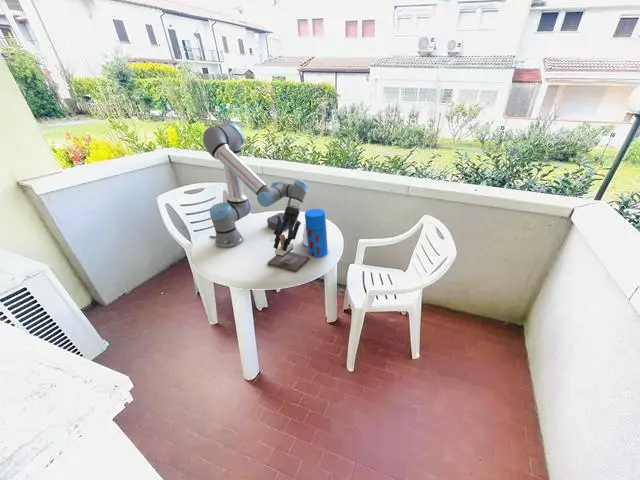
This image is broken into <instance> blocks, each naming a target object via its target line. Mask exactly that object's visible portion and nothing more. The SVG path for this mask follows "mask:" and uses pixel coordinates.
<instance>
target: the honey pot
mask: <svg viewBox="0 0 640 480" xmlns="http://www.w3.org/2000/svg"><path fill="white" fill-rule="evenodd" d="M303 226H304V228H303V232H302V242H303V245H304V246H306V247H308V240H307V231H306V222H305V223H304V225H303Z"/></svg>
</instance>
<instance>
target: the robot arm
mask: <svg viewBox="0 0 640 480" xmlns="http://www.w3.org/2000/svg"><path fill="white" fill-rule="evenodd" d="M245 139H246V138H245V134H244V132H243V131H242V129H241V128H240V126H239V125H237V124H235V123H232V122H231V123H230V122H229V123H222V124H217V125H213V126H209V127H207V128H205V130H204V132H203V135H202V142H203V145H204V147H205V149H206V151H207V153H208V154H209V155H210V156H211V157H212V158H213V159H215V160H216V161H220V163H222V164H223V168H224V175H225V180H226V185H227V187H226V188H227V193H228V195H226V201H225V202H224V201H223V202H219V203H215V204H213V205H212V206H211V207H210V208H209V216H210V218H211V221H212V224H213V228H214V231H215V236H213V235H209V238H213V239H215V244H216V247H218V248H223V249H224V248H225V249H226V248H232V247H235V246H238V245H240V244H241V243H242V242H243V236H242V235H241V233H240V232H239V230H238V229H237V226H236V222H237V221H240V220H242V219H244V217H246V216H248V215H249V214H250V213H251V212H252V208H253V205H252V202H251V201H250V199H249V198H248V196H247V195H246V194H245V193H244V185H245V186H246V187H247V188H248V189H249V190H251V192H252V193H254V194H255V196H256V200H257V202H258V204H259V205H260V206H261V207H265V208H268V207H270V206H273V205H274V204H275V203H277V202H279V201H280V200H281V199H283V198H288V200H287V202H286V206H285V209H284V211H283V213H284V216H283V217H278V221H277V224H276V227H275V229H273V235H274V236H275V237H274V240H273V241H274V244H273V249H274V250H276V249H277V248H279V245H280V237H279V235H282V234H284V231H285V230H286V229H285V227H287V225H288V226H289V228H287V236H286V237H285V243H284V246H283V249H282V250H284V251H286V250H287V247H288V245H290V243H292V242H291V241H292V240H296V238H297V234H298V231H299V228H300V226H301V224H302V222H301V221H299V220H298V218H299V216H300V214H301V213H300V212H301V209H302V206H303V204H304V200H305V197H306V195H307V192H308V187H309V186H308V184H307V183H306V182H305V181H303V180H300V179H296V180H295V181H294V182H293V183H288V182H284V181H273V182H272V184H271V185H270V186H269V185H268V184H267V183H266V182H264V181H263V180H262V179H261V178H260V177H259V176H258V175H257V174H256V173H255V172H254V171H253V170H252V169H251V168H250V167H249V166H248V165H247V164H246V163H244V162H243V160H242V159H240V154H241V153H242V146H243V145H244V144H245ZM243 184H244V185H243ZM282 221H283V222H282ZM294 223H295V225H294ZM281 224H282V225H281ZM284 229H285V230H284Z"/></svg>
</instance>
